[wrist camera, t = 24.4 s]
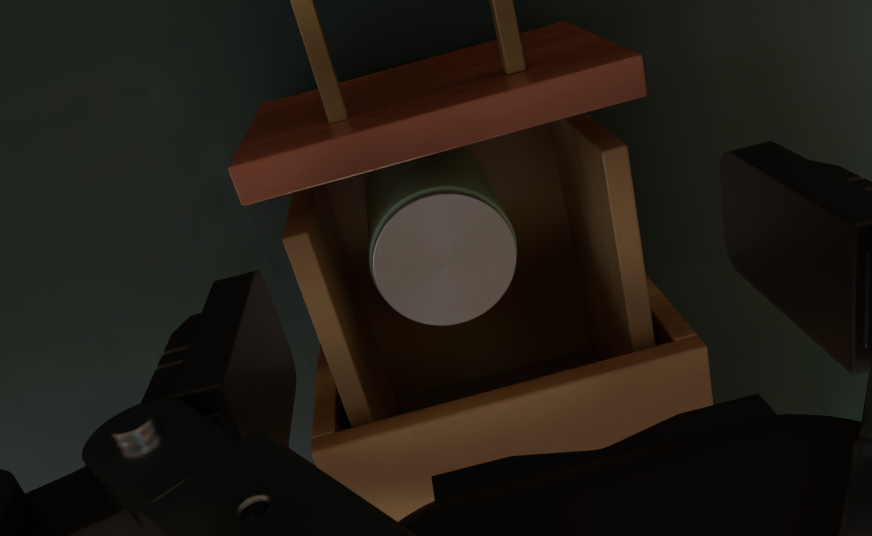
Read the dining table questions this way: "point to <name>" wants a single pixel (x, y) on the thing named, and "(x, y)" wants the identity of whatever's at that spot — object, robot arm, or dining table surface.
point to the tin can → (438, 238)
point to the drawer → (511, 182)
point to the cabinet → (512, 417)
